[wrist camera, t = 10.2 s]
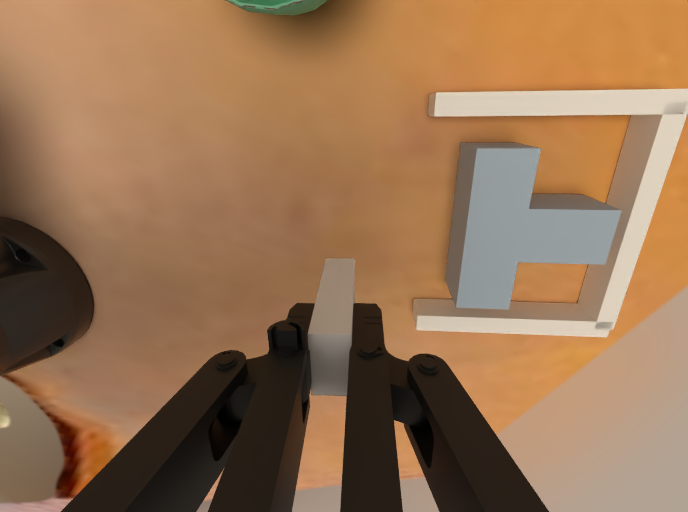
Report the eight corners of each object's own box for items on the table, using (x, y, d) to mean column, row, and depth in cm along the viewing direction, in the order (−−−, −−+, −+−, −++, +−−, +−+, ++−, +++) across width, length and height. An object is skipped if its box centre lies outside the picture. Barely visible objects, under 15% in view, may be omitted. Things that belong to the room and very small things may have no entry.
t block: (444, 279, 32) (456, 307, 27) (460, 142, 27) (477, 148, 23) (559, 282, 31) (590, 312, 26) (595, 141, 26) (640, 148, 22)
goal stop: (412, 311, 33) (416, 330, 31) (429, 94, 26) (436, 92, 23) (590, 317, 32) (610, 337, 29) (660, 91, 25) (695, 88, 22)
